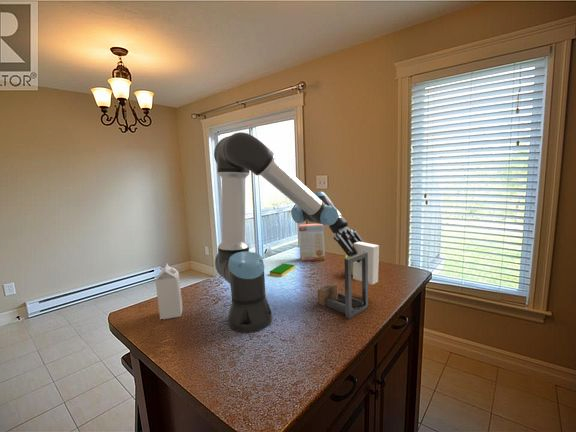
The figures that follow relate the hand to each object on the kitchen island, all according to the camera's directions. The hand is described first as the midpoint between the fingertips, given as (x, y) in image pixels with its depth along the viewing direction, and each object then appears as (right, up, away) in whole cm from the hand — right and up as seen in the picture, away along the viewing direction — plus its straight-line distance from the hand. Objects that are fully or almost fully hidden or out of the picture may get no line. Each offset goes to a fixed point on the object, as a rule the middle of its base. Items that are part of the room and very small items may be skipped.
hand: (369, 266), depth 111 cm
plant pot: (+1, -9, +27) cm, 28 cm away
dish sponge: (-35, -10, +35) cm, 51 cm away
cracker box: (-18, -6, +53) cm, 56 cm away
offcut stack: (-17, -13, -1) cm, 21 cm away
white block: (-1, -6, +2) cm, 6 cm away
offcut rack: (-11, -14, -8) cm, 19 cm away
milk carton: (-76, -17, -6) cm, 78 cm away
